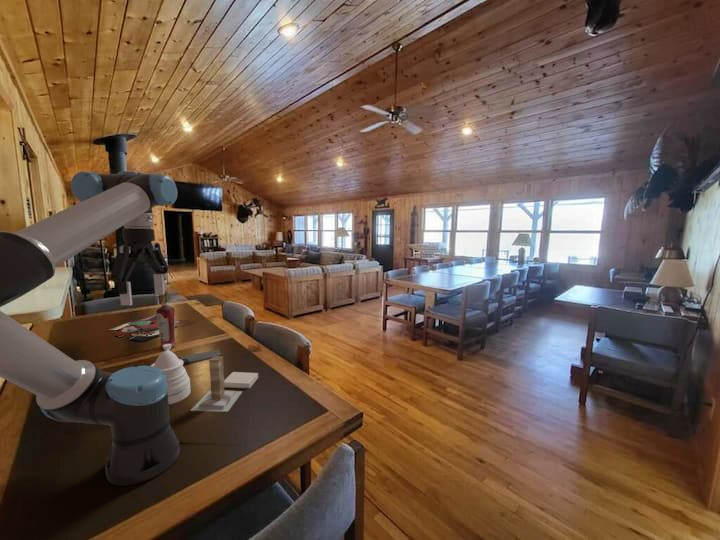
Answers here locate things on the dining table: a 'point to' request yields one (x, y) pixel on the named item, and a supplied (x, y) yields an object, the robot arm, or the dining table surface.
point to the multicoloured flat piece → (141, 328)
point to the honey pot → (173, 375)
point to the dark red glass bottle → (166, 322)
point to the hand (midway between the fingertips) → (144, 299)
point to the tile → (240, 380)
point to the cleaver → (200, 357)
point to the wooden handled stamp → (217, 386)
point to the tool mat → (226, 409)
